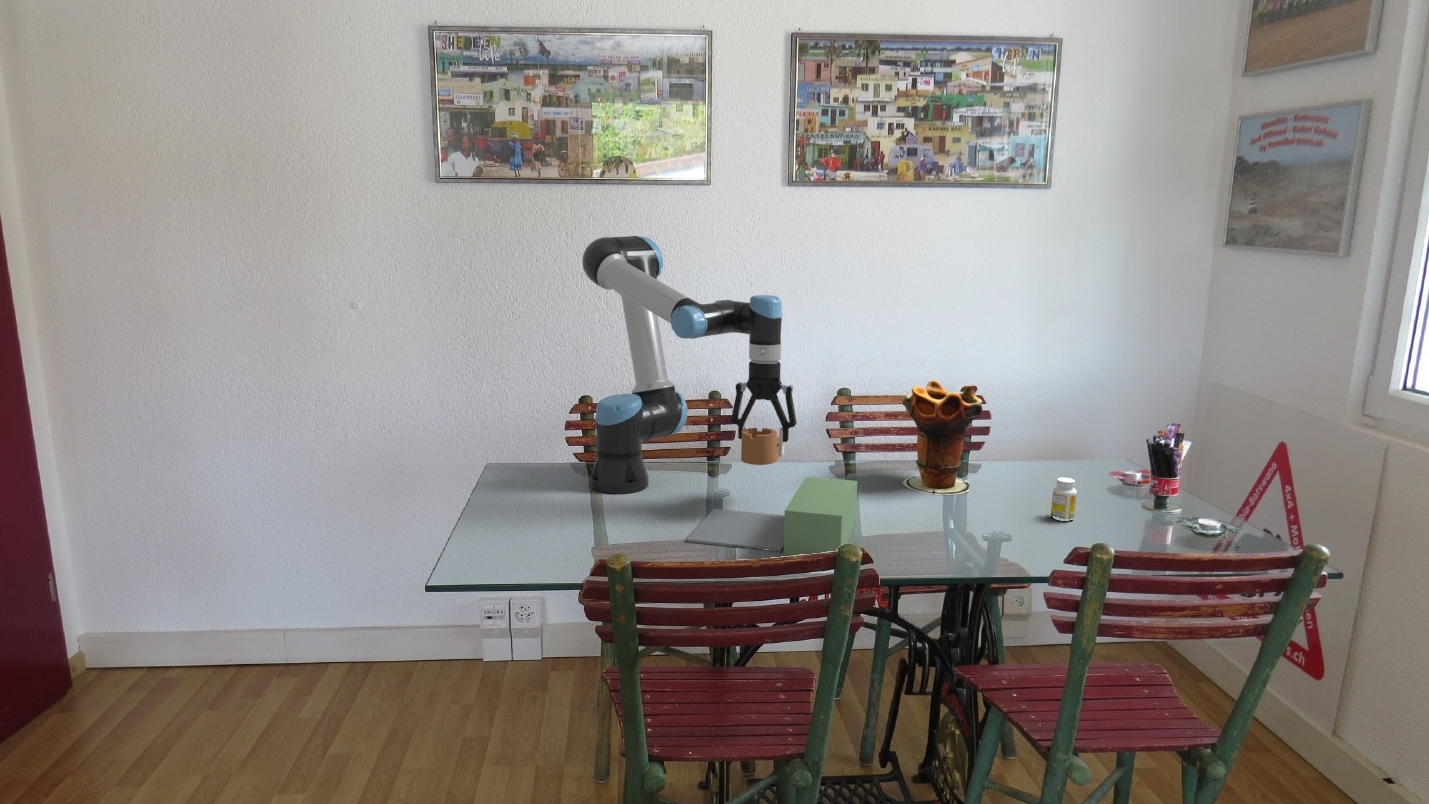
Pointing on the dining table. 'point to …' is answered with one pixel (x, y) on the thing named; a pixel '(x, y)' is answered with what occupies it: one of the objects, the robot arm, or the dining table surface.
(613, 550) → the dining table surface
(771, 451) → the bracket
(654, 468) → the dining table surface
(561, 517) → the dining table surface
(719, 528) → the green cube on tray
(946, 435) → the decorative vase
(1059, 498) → the supplement bottle
